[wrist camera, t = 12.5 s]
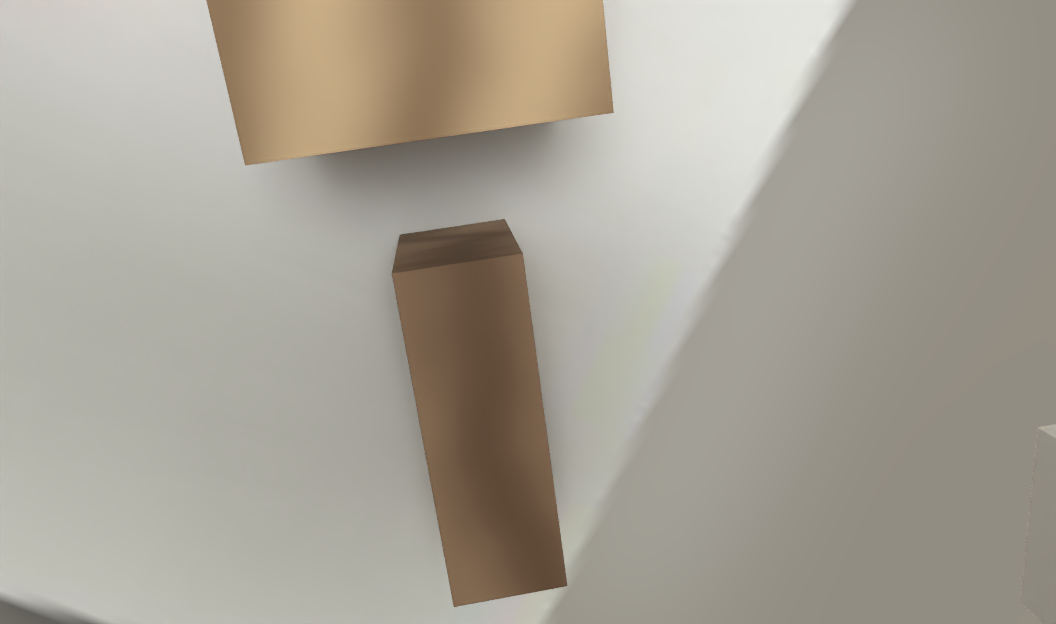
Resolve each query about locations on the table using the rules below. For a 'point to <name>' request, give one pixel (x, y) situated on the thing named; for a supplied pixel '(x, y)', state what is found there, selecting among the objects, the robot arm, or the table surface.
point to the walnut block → (480, 409)
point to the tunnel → (404, 69)
